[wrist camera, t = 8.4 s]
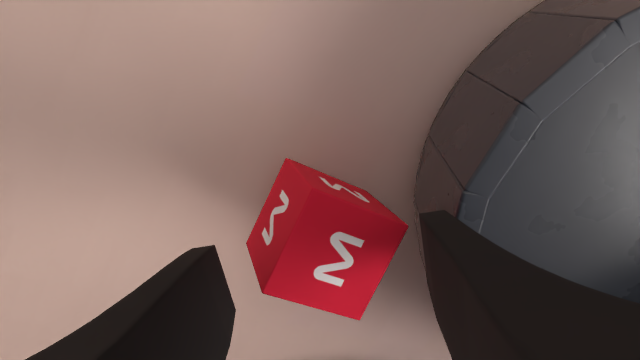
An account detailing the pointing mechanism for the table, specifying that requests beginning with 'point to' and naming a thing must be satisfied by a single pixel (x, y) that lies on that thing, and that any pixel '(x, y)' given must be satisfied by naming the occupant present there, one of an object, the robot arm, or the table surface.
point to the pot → (548, 144)
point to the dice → (322, 241)
